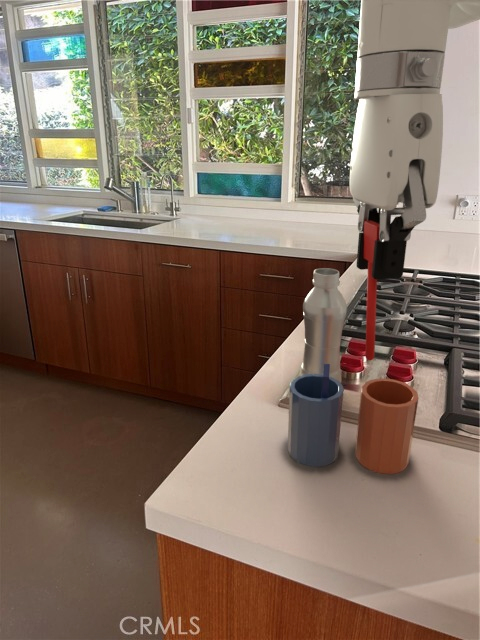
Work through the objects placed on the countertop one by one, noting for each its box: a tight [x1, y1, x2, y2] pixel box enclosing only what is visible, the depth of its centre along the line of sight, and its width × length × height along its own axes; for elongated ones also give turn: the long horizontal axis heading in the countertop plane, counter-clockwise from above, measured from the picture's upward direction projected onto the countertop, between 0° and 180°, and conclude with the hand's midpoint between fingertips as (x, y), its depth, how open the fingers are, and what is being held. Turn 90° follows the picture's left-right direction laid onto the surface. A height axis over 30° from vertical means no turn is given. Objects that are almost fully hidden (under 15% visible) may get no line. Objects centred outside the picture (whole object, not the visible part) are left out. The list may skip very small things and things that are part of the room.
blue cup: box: [287, 374, 344, 468], centre depth 58 cm, size 6×6×10 cm
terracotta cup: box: [354, 378, 420, 475], centre depth 57 cm, size 6×6×10 cm
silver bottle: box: [298, 267, 348, 384], centre depth 70 cm, size 6×7×20 cm
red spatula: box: [364, 221, 380, 361], centre depth 50 cm, size 1×3×16 cm, turn 11°
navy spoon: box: [321, 364, 330, 398], centre depth 57 cm, size 1×2×13 cm, turn 168°
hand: (378, 271), depth 49 cm, fingers closed on red spatula, 3 cm apart
